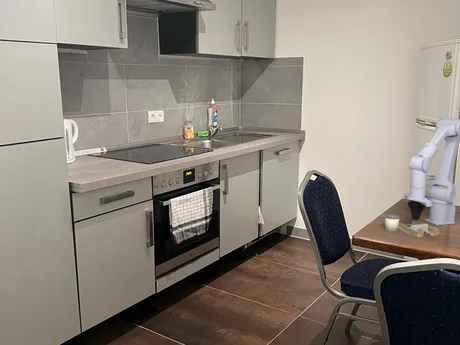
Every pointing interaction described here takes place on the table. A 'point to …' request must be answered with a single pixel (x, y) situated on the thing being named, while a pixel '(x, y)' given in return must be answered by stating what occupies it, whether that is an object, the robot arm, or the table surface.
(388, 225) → the jar
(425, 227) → the pusher
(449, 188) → the robot arm
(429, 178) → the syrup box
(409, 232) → the lane
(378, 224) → the table surface
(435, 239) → the table surface
